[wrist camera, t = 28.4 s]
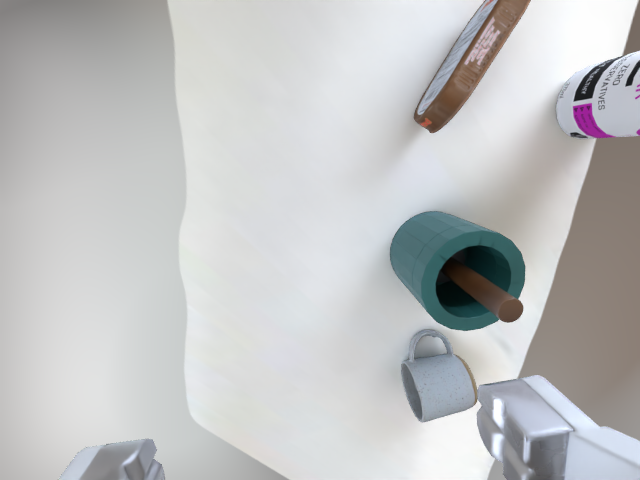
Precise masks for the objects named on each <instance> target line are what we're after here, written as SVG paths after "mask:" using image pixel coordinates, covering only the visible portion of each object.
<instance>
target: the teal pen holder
mask: <svg viewBox="0 0 640 480" xmlns="http://www.w3.org/2000/svg"><path fill="white" fill-rule="evenodd" d="M460 250H462V251H463V253H464V255H465V265H466V266H467V267H469V268H470V269H472V270H473V271H475V272H476V273H478V274H480V275H481V276H483V277H484V278H486V279H487V280H489V281H490V282H492V283H493V284H495V285H496V286H498V287H500V288H501V289H503V290H504V291H506V292H507V293H509V294H510V295H512V296H513V297H515V298H516V299H518V298H519V297H520V294H521V291H522V289H523V286H524V282H525V264H524V261H523V257H522V254H521V252H520V251H519V249H518V248H517V247H516V246H515V244H514V243H513V242H512V241H511V240H510V239H508V238H506V237H504V236H503V235H501V234H499V233H497V232H494V231H492V230H489V229H487V228H484V227H481V226H479V225H476V224H474V223H471V222H469V221H466V220H463V219H461V218H458V217H456V216H453V215H450V214H446V213H443V212H437V211H430V212H424V213H421V214H418V215H416V216H414V217H412V218H410V219H409V220H408V221H406V222H405V223H404V224H403V225H402V226H401V227H400V228H399V230H398V231H397V233H396V234H395V236H394V238H393V241H392V244H391V249H390V260H391V265H392V267H393V270H394V271H395V273H396V275H397V276H398V278H399V279H400V280H401V281H402V282H403V284H404V285H405V286H406V287H407V288H408V289H409V291H410V292H411V293H412V294H413V295H414V297H415V298H416V299H417V300H418V301H419V303H420V304H421V305H422V306H423V307H424V309H425V310H426V311H427V312H428V313H429V314H430V315H431V316H432V317H433V319H434V320H435V321H436V322H438V323H440V324H442V325H444V326H446V327H448V328H450V329H456V330H463V331H468V330H475V329H481V328H483V327H486V326H488V325H490V324H492V323H495V322H497V321H498V320H499V318H498V317H497V316H495V315H494V314H493V313H492V312H490V311H489V310H488V309H487V308H485V307H484V306H483V305H482V304H480V303H479V302H478V301H477V300H475V299H474V298H473V297H472V296H470V295H469V294H468V293H467V292H465V291H464V290H463V289H462V288H461V287H459V286H458V285H457V284H456V283H454V282H453V281H449V282H443V283H442V282H436V280H437V277H438V273H439V271H440V269H441V268H442V266H443V265H444V263H445V262H446V260H448V259H449V258H450V257H451V256H452V255H453V254H455V253H456V252H458V251H460Z"/></svg>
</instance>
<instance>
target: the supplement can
mask: <svg viewBox="0 0 640 480" xmlns="http://www.w3.org/2000/svg"><path fill="white" fill-rule="evenodd" d="M556 113H557V120H558V122H559V125H560V127H561V129H562V130H563V131H564V132H565V133H567V134H568V135H569V136H571V137H574V138H578V139H589V138H607V137H624V136H640V51H638V52H634V53H631V54H628V55H625V56H621V57H618V58H615V59H611V60H608V61H605V62H601V63H598V64H595V65H591V66H588V67H586V68H584V69H582V70H580V71H578V72H576V73H575V74H574V75H573V76H572V77H571V78H570V79H569V80H568V81H567V82H566V83H565V85H564V86H563V88H562V90H561V92H560V93H559V97H558V101H557V105H556Z"/></svg>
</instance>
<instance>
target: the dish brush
mask: <svg viewBox="0 0 640 480" xmlns="http://www.w3.org/2000/svg"><path fill="white" fill-rule="evenodd" d="M449 281H453V282H454V283H456V284H457V285H458V286H459V287H461V288H462V289H463V290H464V291H465V292H467V293H468V294H469V295H470V296H472V297H473V298H474V299H475V300H477V301H478V302H479V303H480V304H482V305H483V306H484V307H485V308H487V309H488V310H489V311H490V312H492V313H493V314H494V315H495V316H497V317H498V318H499V319H500V320H502V321H503V322H513V321H515V320H517V319H518V318H519V317H520V316H521V314H522V312H523V305H522V303H521V301H519V300H518V299H516V298H515V297H513V296H512V295H510V294H509V293H507V292H506V291H504V290H503V289H501V288H500V287H498V286H496V285H495V284H493V283H492V282H490V281H489V280H487V279H486V278H484V277H483V276H481V275H480V274H478V273H476V272H475V271H473V270H472V269H470V268H469V267H467V266H466V265H465V255H464V253H463V251H462V250H460V251H458V252H456V253H455V254H453V255H452V256H451V257H450V258H449V259H448V260H446V262H445V263H444V265H443V266H442V268H441V269H440V271H439V273H438V277H437V280H436V282H442V283H443V282H449Z"/></svg>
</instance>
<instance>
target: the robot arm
mask: <svg viewBox="0 0 640 480" xmlns="http://www.w3.org/2000/svg"><path fill="white" fill-rule="evenodd" d="M477 399H478V400H479V402H480V403H481V405H482V407H481V408H480V409H479V411H478V412H477V425H478V429H479V433H480V436H481V438H482V440H483V443H484V445H485V447H486V448H487V450H488V451H489V453H490V454H491V456H492V457H494V458H496V459H497V460H499V461H500V462H502V463H503V475H504V476H505V478H506V479H507V480H640V441H639V440H636V439H634V438H632V437H630V436H627V435H625V434H623V433H621V432H618V431H616V430H614V429H612V428H609V427H607V426H605V427H599V426H598V425H597V424H595V422H593V421H592V420H591V419H590V418H589V417H588V416H586V415H585V414H584V413H583V412H582V411H581V410H580V409H579V408H578V407H577V406H575V405H574V404H573V403H572V402H571V401H570V400H569V399H567V398H566V397H565V396H564V395H563V394H562V393H561V392H560V391H559V390H557V389H556V388H555V387H554V386H553V385H552V384H551V383H550V382H548V381H547V380H546V379H545V378H544V377H541V376H539V375H536V376H530V377H525V378H519V379H514V380H508V381H502V382H496V383H490V384H484V385H479V387H478V390H477ZM156 451H157V449H156V447H155V444H154V442H153V440H152V439H142V440H134V441H126V442H119V443H112V444H106V445H101V446H93V447H86V448H84V449H83V450H81V451H80V452H78V453H77V455H76V456H75V457H74V459H73V460H72V461H71V463H70V464H69V466H68V467H67V468H66V470H65V471H64V472H63V474H62V475H61V476H60V478H59V479H58V480H165V476H164V470H163V467H162V464H160V463H159V462H157V461H156V460H155V459H153V458H154V455H155V453H156Z"/></svg>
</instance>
